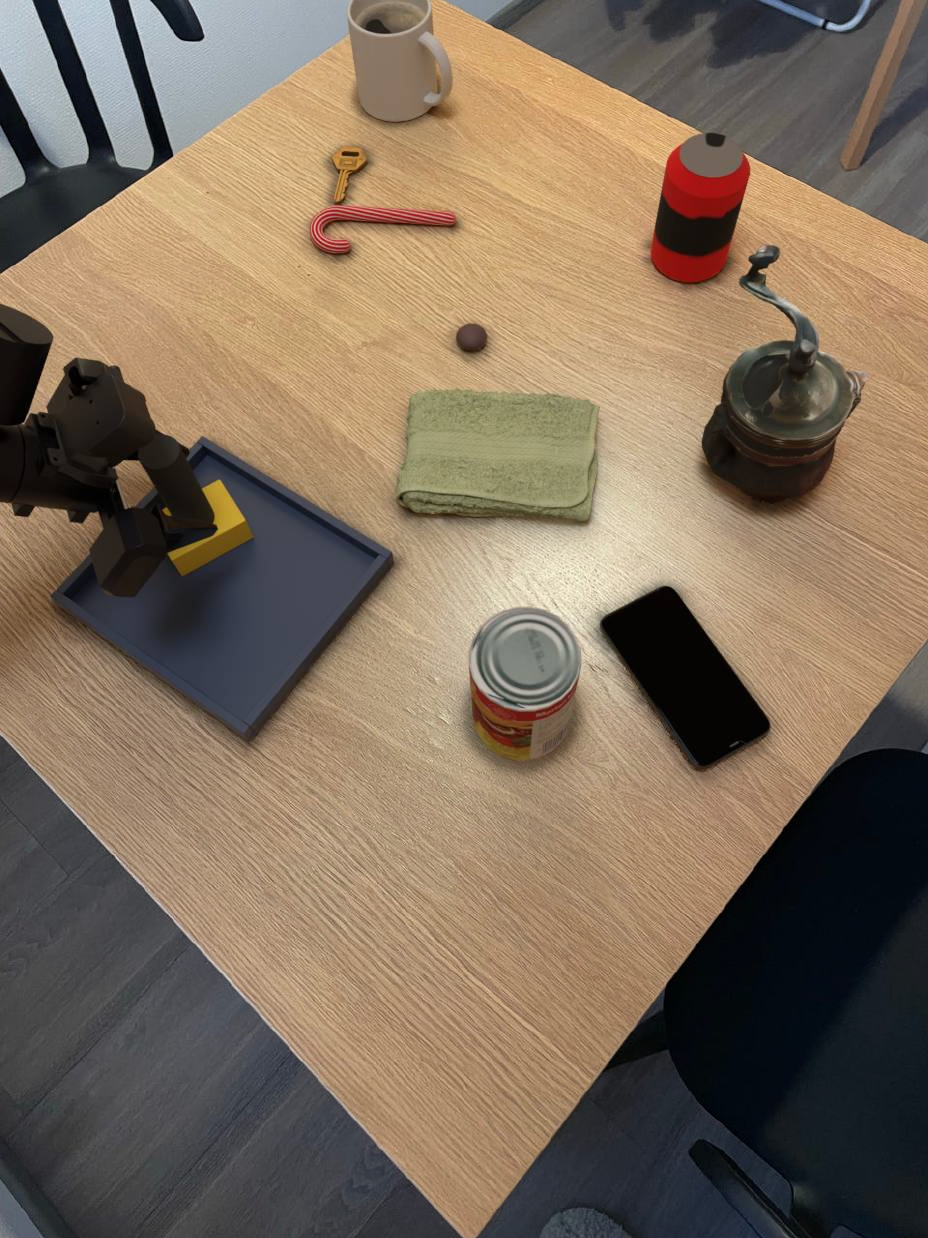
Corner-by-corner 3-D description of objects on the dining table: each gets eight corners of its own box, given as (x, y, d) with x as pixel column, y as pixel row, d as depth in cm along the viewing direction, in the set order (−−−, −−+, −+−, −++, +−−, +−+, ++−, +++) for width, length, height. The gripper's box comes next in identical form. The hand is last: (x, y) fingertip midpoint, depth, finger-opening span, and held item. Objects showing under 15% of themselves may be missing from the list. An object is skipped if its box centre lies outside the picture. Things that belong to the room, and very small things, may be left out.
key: (321, 202, 103) (321, 199, 102) (335, 148, 106) (335, 145, 106) (356, 204, 102) (356, 201, 102) (369, 150, 106) (369, 147, 105)
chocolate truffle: (489, 352, 94) (489, 340, 92) (458, 356, 94) (458, 345, 92) (484, 328, 95) (484, 316, 94) (454, 332, 95) (453, 321, 94)
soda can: (730, 234, 99) (759, 131, 88) (720, 290, 96) (748, 190, 85) (656, 222, 100) (675, 119, 89) (644, 277, 97) (662, 177, 86)
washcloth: (593, 529, 85) (597, 510, 82) (394, 517, 86) (390, 498, 84) (598, 407, 91) (602, 386, 88) (411, 397, 92) (408, 375, 89)
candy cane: (450, 262, 99) (450, 251, 98) (306, 254, 100) (303, 243, 99) (457, 219, 101) (456, 207, 100) (315, 211, 102) (313, 200, 101)
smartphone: (594, 623, 81) (696, 776, 76) (595, 619, 81) (698, 773, 75) (668, 584, 83) (774, 731, 77) (670, 580, 82) (777, 728, 76)
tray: (249, 742, 78) (243, 734, 76) (59, 606, 84) (48, 596, 82) (394, 563, 85) (392, 551, 83) (208, 448, 90) (202, 435, 88)
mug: (351, 77, 111) (338, -11, 102) (431, 60, 112) (426, -29, 103) (372, 141, 106) (361, 55, 97) (456, 123, 107) (452, 36, 98)
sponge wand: (182, 577, 84) (130, 496, 72) (157, 535, 86) (103, 450, 74) (253, 537, 85) (214, 452, 74) (228, 497, 87) (185, 408, 75)
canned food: (508, 651, 81) (509, 586, 70) (589, 701, 79) (603, 643, 68) (453, 726, 78) (446, 670, 67) (535, 780, 76) (541, 732, 65)
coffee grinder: (758, 369, 92) (813, 219, 76) (852, 487, 86) (934, 352, 70) (641, 421, 90) (672, 278, 74) (730, 546, 84) (785, 421, 68)
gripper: (86, 493, 61) (289, 521, 72) (23, 285, 68) (216, 340, 79) (19, 595, 67) (215, 606, 78) (-33, 394, 74) (154, 431, 86)
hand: (201, 491), depth 80 cm, fingers open, 8 cm apart
